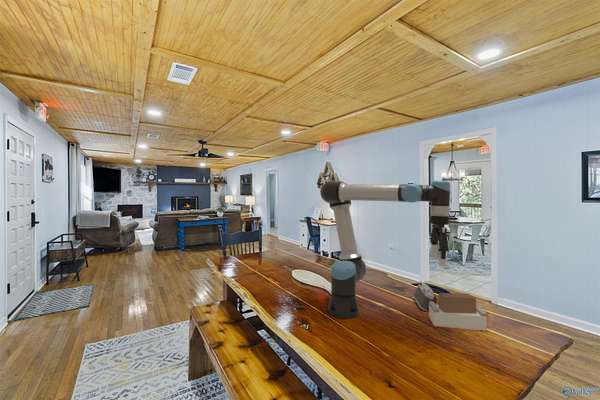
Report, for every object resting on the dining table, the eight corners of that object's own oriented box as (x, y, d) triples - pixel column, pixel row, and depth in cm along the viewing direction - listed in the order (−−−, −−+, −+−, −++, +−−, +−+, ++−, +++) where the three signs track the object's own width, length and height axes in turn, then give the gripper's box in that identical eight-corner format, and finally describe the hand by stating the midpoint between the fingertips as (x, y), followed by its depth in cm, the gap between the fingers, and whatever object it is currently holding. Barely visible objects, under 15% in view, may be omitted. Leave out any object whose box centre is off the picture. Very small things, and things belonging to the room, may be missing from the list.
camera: (418, 308, 130) (428, 290, 129) (410, 295, 146) (419, 278, 145) (437, 317, 129) (447, 298, 128) (427, 302, 145) (435, 286, 143)
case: (444, 312, 115) (444, 298, 115) (438, 306, 121) (438, 292, 121) (476, 313, 114) (476, 298, 114) (468, 307, 120) (468, 293, 120)
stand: (434, 326, 115) (434, 309, 115) (429, 316, 124) (429, 301, 124) (486, 331, 111) (486, 313, 111) (477, 321, 120) (477, 305, 119)
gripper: (458, 218, 107) (456, 270, 108) (440, 213, 132) (439, 256, 132) (438, 217, 109) (436, 269, 110) (424, 212, 133) (422, 255, 134)
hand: (437, 262), depth 121 cm, fingers open, 13 cm apart
